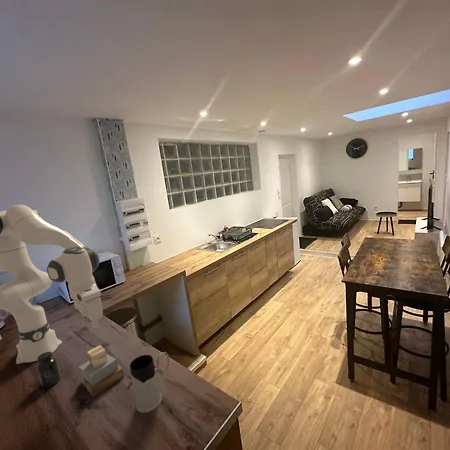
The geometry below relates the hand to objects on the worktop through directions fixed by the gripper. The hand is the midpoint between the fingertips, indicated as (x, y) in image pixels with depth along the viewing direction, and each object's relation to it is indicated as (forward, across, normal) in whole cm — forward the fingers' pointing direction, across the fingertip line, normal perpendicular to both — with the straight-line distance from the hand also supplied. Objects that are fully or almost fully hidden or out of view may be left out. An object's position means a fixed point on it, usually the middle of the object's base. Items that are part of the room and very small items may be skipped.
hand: (91, 323), depth 99 cm
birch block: (+16, 0, 0) cm, 16 cm away
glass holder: (+24, +26, +8) cm, 36 cm away
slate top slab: (+20, 0, -1) cm, 20 cm away
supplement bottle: (+24, -18, -14) cm, 33 cm away
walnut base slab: (+24, 0, 0) cm, 24 cm away
